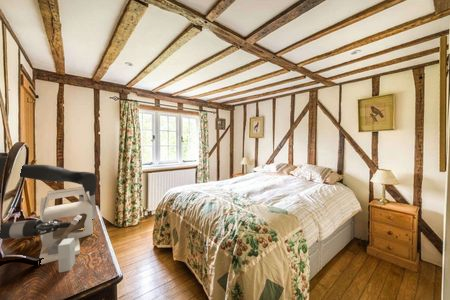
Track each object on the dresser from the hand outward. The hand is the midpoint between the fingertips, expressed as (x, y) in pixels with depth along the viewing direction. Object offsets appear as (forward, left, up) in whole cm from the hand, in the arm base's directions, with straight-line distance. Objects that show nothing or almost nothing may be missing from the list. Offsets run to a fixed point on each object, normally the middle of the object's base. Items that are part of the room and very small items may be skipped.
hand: (70, 224), depth 99 cm
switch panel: (-1, -4, -14) cm, 14 cm away
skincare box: (+15, -1, -14) cm, 21 cm away
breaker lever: (-1, -4, -8) cm, 9 cm away
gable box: (-19, -1, -14) cm, 24 cm away
